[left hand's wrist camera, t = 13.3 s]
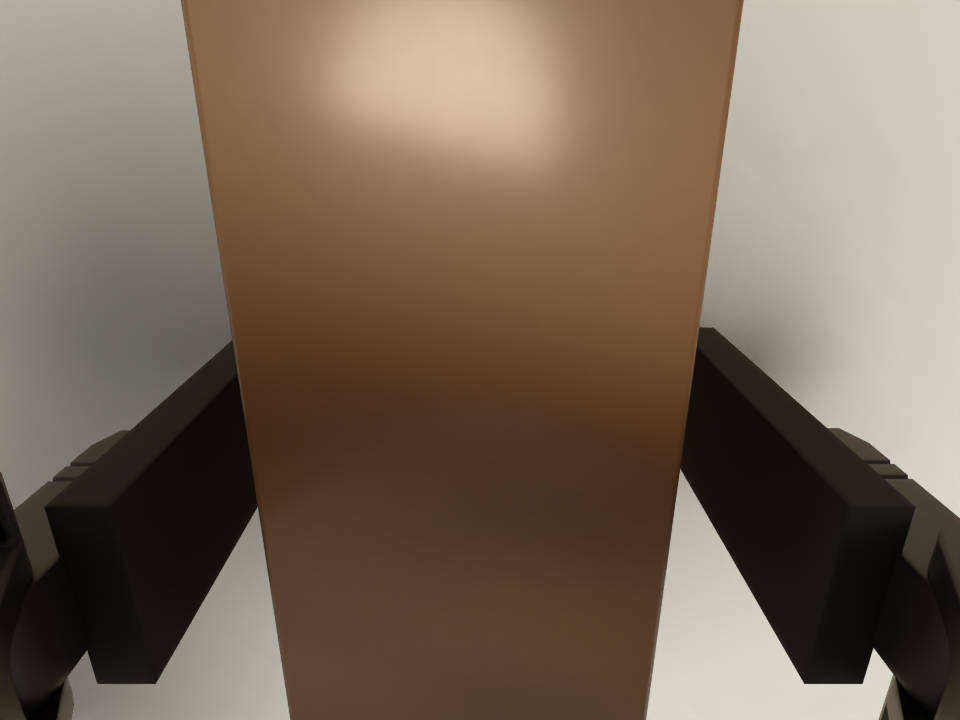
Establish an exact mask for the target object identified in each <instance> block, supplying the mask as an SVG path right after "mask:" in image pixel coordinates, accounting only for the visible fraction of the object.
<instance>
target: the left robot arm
mask: <svg viewBox="0 0 960 720" xmlns="http://www.w3.org/2000/svg"><path fill="white" fill-rule="evenodd" d="M680 469H681V471H682V472H683V474H684V476H685V477H686V479H687V481H688V483H689V484H690V486H691V488H692V490H693V491H694V493H695V495H696V497H697V498H698V500H699V502H700V504H701V505H702V507H703V509H704V510H705V512H706V514H707V516H708V517H709V519H710V521H711V523H712V524H713V526H714V528H715V530H716V531H717V533H718V535H719V536H720V538H721V540H722V542H723V543H724V545H725V547H726V549H727V550H728V552H729V554H730V556H731V557H732V559H733V561H734V563H735V564H736V566H737V568H738V569H739V571H740V573H741V575H742V576H743V578H744V580H745V582H746V583H747V585H748V587H749V589H750V590H751V592H752V594H753V595H754V597H755V599H756V601H757V602H758V604H759V606H760V608H761V609H762V611H763V613H764V615H765V616H766V618H767V620H768V622H769V623H770V625H771V627H772V628H773V630H774V632H775V634H776V635H777V637H778V639H779V641H780V642H781V644H782V646H783V648H784V649H785V651H786V653H787V654H788V656H789V658H790V660H791V661H792V663H793V665H794V667H795V668H796V670H797V672H798V674H799V675H800V677H801V679H802V681H803V682H804V684H863V681H864V677H865V674H866V671H867V667H868V664H869V661H870V657H871V654H872V651H873V647H874V649H875V650H876V651H877V653H878V654H879V655H880V657H881V658H882V659H883V661H884V662H885V663H886V665H887V666H888V667H889V669H890V670H891V672H892V673H893V677H892V680H891V683H890V686H889V689H888V692H887V696H886V699H885V702H884V705H883V708H882V711H881V714H880V717H879V720H960V518H959V517H958V516H956V515H955V514H954V513H953V512H952V511H950V510H949V509H948V508H947V507H945V506H944V505H943V504H942V503H941V502H939V501H938V500H937V499H936V498H935V497H933V496H932V495H931V494H930V493H929V492H927V491H926V490H925V489H924V488H923V487H921V486H920V485H919V484H918V483H917V482H915V481H914V480H913V479H908V475H907V474H906V473H904V472H903V471H902V470H901V469H900V468H898V467H897V466H896V465H895V464H890V460H889V459H888V458H886V457H885V456H884V455H883V454H882V453H880V452H879V451H878V450H877V449H875V448H874V447H873V446H872V445H871V444H869V443H868V442H866V441H864V440H862V439H860V438H858V437H855V436H853V435H851V434H849V433H847V432H845V431H843V430H841V429H839V428H826V427H825V426H824V425H823V424H822V423H821V422H819V421H818V420H817V419H816V418H815V417H814V416H813V415H812V414H810V413H809V412H808V411H807V410H806V409H805V408H804V407H802V406H801V405H800V404H799V403H798V402H797V401H796V400H795V399H793V398H792V397H791V396H790V395H789V394H788V393H787V392H786V391H784V390H783V389H782V388H781V387H780V386H779V385H778V384H777V383H775V382H774V381H773V380H772V379H771V378H770V377H769V376H767V375H766V374H765V373H764V372H763V371H762V370H761V369H760V368H758V367H757V366H756V365H755V364H754V363H753V362H752V361H751V360H749V359H748V358H747V357H746V356H745V355H744V354H743V353H742V352H740V351H739V350H738V349H737V348H736V347H735V346H734V345H732V344H731V343H730V342H729V341H728V340H727V339H726V338H725V337H723V336H722V335H721V334H720V333H719V332H718V331H717V330H716V329H714V328H699V332H698V340H697V347H696V355H695V362H694V369H693V377H692V384H691V391H690V399H689V406H688V414H687V421H686V428H685V436H684V443H683V450H682V458H681V465H680ZM257 507H258V503H257V496H256V490H255V483H254V477H253V470H252V464H251V457H250V450H249V444H248V437H247V431H246V424H245V418H244V411H243V404H242V398H241V391H240V385H239V378H238V372H237V365H236V358H235V352H234V345H233V340H232V341H231V342H230V343H229V344H228V345H226V346H225V347H224V348H223V349H222V350H221V351H220V352H218V353H217V354H216V355H215V356H214V357H213V358H212V359H211V360H209V361H208V362H207V363H206V364H205V365H204V366H203V367H202V368H200V369H199V370H198V371H197V372H196V373H195V374H194V375H193V376H191V377H190V378H189V379H188V380H187V381H186V382H185V383H183V384H182V385H181V386H180V387H179V388H178V389H177V390H176V391H174V392H173V393H172V394H171V395H170V396H169V397H168V398H167V399H165V400H164V401H163V402H162V403H161V404H160V405H159V406H158V407H156V408H155V409H154V410H153V411H152V412H151V413H150V414H148V415H147V416H146V417H145V418H144V419H143V420H142V421H141V422H139V423H138V424H137V425H136V426H135V427H134V428H133V429H132V430H130V431H120V432H118V433H116V434H114V435H112V436H110V437H108V438H106V439H103V440H101V441H99V442H97V443H95V444H93V445H91V446H90V447H89V448H88V449H87V450H85V451H84V452H83V453H82V454H81V455H79V456H78V457H77V458H76V459H75V460H74V461H72V462H71V465H70V466H66V467H65V468H64V469H63V470H62V471H60V472H59V473H58V474H57V475H56V476H54V477H53V481H52V482H47V483H46V484H45V485H44V486H42V487H41V488H40V489H39V490H38V491H36V492H35V493H34V494H33V495H32V496H30V497H29V498H28V499H27V500H26V501H24V502H23V503H22V504H21V505H20V506H18V507H17V508H16V509H15V510H13V507H12V504H11V501H10V498H9V495H8V492H7V488H6V485H5V482H4V479H3V476H2V473H1V472H0V720H71V718H72V712H73V706H74V702H73V694H72V689H71V686H70V683H69V680H68V677H67V676H68V675H69V674H70V672H71V671H72V670H73V668H74V667H75V666H76V664H77V663H78V662H79V660H80V659H81V658H82V656H83V655H84V654H85V652H86V651H88V654H89V657H90V661H91V664H92V667H93V671H94V674H95V677H96V681H97V684H156V682H157V681H158V679H159V677H160V675H161V674H162V672H163V670H164V668H165V667H166V665H167V663H168V661H169V660H170V658H171V656H172V655H173V653H174V651H175V649H176V648H177V646H178V644H179V642H180V641H181V639H182V637H183V635H184V634H185V632H186V630H187V628H188V627H189V625H190V623H191V622H192V620H193V618H194V616H195V615H196V613H197V611H198V609H199V608H200V606H201V604H202V602H203V601H204V599H205V597H206V596H207V594H208V592H209V590H210V589H211V587H212V585H213V583H214V582H215V580H216V578H217V576H218V575H219V573H220V571H221V569H222V568H223V566H224V564H225V563H226V561H227V559H228V557H229V556H230V554H231V552H232V550H233V549H234V547H235V545H236V543H237V542H238V540H239V538H240V536H241V535H242V533H243V531H244V530H245V528H246V526H247V524H248V523H249V521H250V519H251V517H252V516H253V514H254V512H255V510H256V509H257Z"/></svg>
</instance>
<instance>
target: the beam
mask: <svg viewBox="0 0 960 720" xmlns="http://www.w3.org/2000/svg"><path fill="white" fill-rule="evenodd" d="M743 1H744V0H181V4H182V10H183V17H184V23H185V30H186V37H187V43H188V50H189V56H190V63H191V69H192V76H193V83H194V89H195V96H196V102H197V109H198V115H199V122H200V129H201V135H202V142H203V148H204V155H205V161H206V168H207V175H208V181H209V188H210V194H211V201H212V207H213V214H214V221H215V227H216V234H217V240H218V247H219V253H220V260H221V267H222V273H223V280H224V286H225V293H226V299H227V306H228V313H229V319H230V326H231V332H232V339H233V345H234V352H235V358H236V365H237V372H238V378H239V385H240V391H241V398H242V404H243V411H244V418H245V424H246V431H247V437H248V444H249V450H250V457H251V464H252V470H253V477H254V483H255V490H256V496H257V503H258V510H259V516H260V523H261V529H262V536H263V542H264V549H265V556H266V562H267V569H268V575H269V582H270V588H271V595H272V602H273V608H274V615H275V621H276V628H277V634H278V641H279V648H280V654H281V661H282V667H283V674H284V680H285V687H286V694H287V700H288V707H289V713H290V720H646V716H647V709H648V701H649V694H650V686H651V679H652V672H653V664H654V657H655V650H656V642H657V635H658V627H659V620H660V613H661V605H662V598H663V591H664V583H665V576H666V568H667V561H668V554H669V546H670V539H671V532H672V524H673V517H674V509H675V502H676V495H677V487H678V480H679V473H680V465H681V458H682V450H683V443H684V436H685V428H686V421H687V414H688V406H689V399H690V391H691V384H692V377H693V369H694V362H695V355H696V347H697V340H698V332H699V325H700V318H701V310H702V303H703V296H704V288H705V281H706V273H707V266H708V259H709V251H710V244H711V237H712V229H713V222H714V214H715V207H716V200H717V192H718V185H719V178H720V170H721V163H722V155H723V148H724V141H725V133H726V126H727V119H728V111H729V104H730V96H731V89H732V82H733V74H734V67H735V60H736V52H737V45H738V37H739V30H740V23H741V15H742V8H743Z"/></svg>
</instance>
